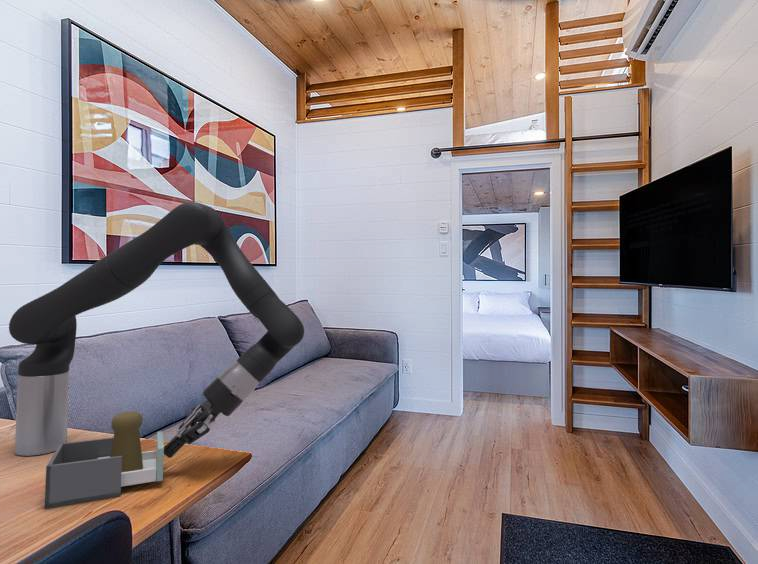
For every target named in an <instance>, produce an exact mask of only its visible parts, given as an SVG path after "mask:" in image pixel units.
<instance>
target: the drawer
mask: <svg viewBox="0 0 758 564" xmlns="http://www.w3.org/2000/svg"><path fill="white" fill-rule="evenodd" d="M164 444H165V443H164V435H163V431H162V430H161V431H157V432H156V449H155V450H149V451H148V450H147V451H141V452H142V461H143V469H142V470H135V471H129V472H122V473H121V487H127V486H135V485H139V484H145V483H152V482H162V481H164V480H163V478H164V476H163V475H164V456H165V455H164V447H165V445H164ZM109 457H110V456H109ZM101 458H108V457H101ZM98 459H100V458H98Z"/></svg>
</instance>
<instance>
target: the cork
mask: <svg viewBox="0 0 758 564" xmlns="http://www.w3.org/2000/svg"><path fill="white" fill-rule="evenodd" d="M143 421H144V420H143V416H142V414H141V413H140V412H138V411H124V412H119V413H117V414H115V415H114V416H113V418H112V420H111V426H110V427H111V429H112V430H113V432H114V433H113V437H114V438H113V443H112V448H111V454H110V457H115V456H122V471H121V473H122V472H129V471H135V470H142V469H143V461H142V452H143V451H142V445H141V435H140V429H141V427H142V425H143Z"/></svg>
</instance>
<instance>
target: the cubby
mask: <svg viewBox="0 0 758 564" xmlns="http://www.w3.org/2000/svg"><path fill="white" fill-rule="evenodd" d="M113 438H114V436H113V437H105V438H95V439H88V440H85V439H84V440H77V441H71V442H69V441H67V442H66V443H60V444H59V446H58V448H57V449H56V451H54V453H53V455H52V457H50V459H49V461H48V463H47V465H46V467H45V468H46V469H45V487H44V490H45V491H44V510H46V509H54V508H59V507H66V506H71V505H78V504H82V503H88V502H95V501H99V500H108V499H112V498H118V497H121V493H122V487H123V486H122V487H121V471H122V456H115V457H109V456H110V454H111V448H112V443H113ZM101 457H108V458H101ZM98 458H100V459H98Z"/></svg>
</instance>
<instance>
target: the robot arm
mask: <svg viewBox="0 0 758 564" xmlns="http://www.w3.org/2000/svg"><path fill="white" fill-rule="evenodd" d="M193 245H198V246H200V247H201V248H203V249H204V250H205V251H206V252H207V253H208V254H209V255H211V257H212V258H213V259H214V260H215V261H216V263H217V264H218V265H219V267H220V268H221V270H222V271H223V273H224V274H223V275H224V276H225V278H226V280H227V282H228V283H229V286H230V287H231V290H232V291H233V292H234V294H235V296H237V298H238V299H239V301H240V302H241V303H242V304H243V306H244V307H245V308H246V309H247V310H248V311H249V312H250V313H251V315H252V316H253V317H254V318H255V319H258V320H259V321H260V323H261V324H262V325H263V327H264V328H265V329H266V332H265V334H264V335H263V336H262V337H260V339H259V340H258V341H257V342H256V343H255V344H253V345H252V346H249V348H247V350H245V351H244V352H243V353H242V354H241V355H240V357H239V358H237V359H236V360H235V361H234V362H233V363H232V364H230V365H229V366H228V367H227V368H226V369H224V370H223V371H222V372H221V373H220V375H218V376H217V377H216V378H215V379H214V380H213V381H212V382H211V383H210V384H209V385H208V386H207V387H206V388H205V389H204V390H203V391H202V395H203V396H204V398H205V399H206V401H204V402H203V403H201V404H198V405H197V406H194V407H193V408H192V409H191V410H190V412H189V414H187V416H186V417H185V419H184V420H183V422H182V423H180V425H179V427H178V428H177V429H178V430H177V432H176V434H175V435H174V437H173V438H171V439H170V441H169V442H167V443H166V444H165V445H164V456H166V457H167V458H168V459H171V458H172V457H173V456H174V455H175V454H176V453H178V451H179V450H180V449H182V447H183V446H185V445H187V444H188V445H191V444H192V443H194V442H196V441H197V440H199V439H200V438H202V437H203V436H205V435H206V434H208V433H209V432H210V431H211V428H210V427H211V426H212V425H213V424H214V423H215V422H216V418H217V417H218V416H219V415H220V414H223V415H224V416H226V417H229V416H230V415H232V414H233V413H234V411H236V410H237V408H238V407H239V406H240V405H241V404H242V403H243V402H244V401H246V399H247V398H248V397H249V396H250V395H251V394H252V393H253V392H254V391H255V389H256V388H257V387H258V386H259V384H260V383H261V382H262V381H264V379H265V378H266V377H267V376H268V375H269V374H270V373H271V372H272V370H274V368H275V366H276V365H277V363H279V362H280V361H281V360H282V359H283V358H284V357H285V356H286V355H287V354H288V353H290V351H291V350H292V349H293V348H294V347H295V346H297V345H298V344H300V342H302V340H303V338H304V336H305V327H304V324H303V322H302V320H301V319H300V317H298V316H297V314H296V313H295V312H294V311H293V310H292V309H291V308H289V307H288V305H287V304H286V303H285V302H284V301H282V300H281V299H280V297H279V296H278V295H277V293H276V292H275V291H274V289H273V288H272V287H271V285H270V284H269V283H268V282H267V281H266V279H265V278H263V276H262V275H261V274H260V272H259V271H258V270H257V269H256V268H255V266H254V265H253V264H252V263H251V261H250V260H249V259H248V258H247V256H246V255H245V253H244V252H243V251H242V249H241V248H240V246H239V245H238V243H237V242H236V240H235V237H233V235H232V233H231V232H230V230H229V228H228V226H227V225H226V223H225V221H224V219H223V218H222V216H221V214H220V213H219V212H218V211H217V210H216V209H215V208H213V207H212V206H209V205H206V204H204V203H200V202H196V201H188V202H187V201H185V202H183V203H181V204H179V205H177V206H176V207H174V208H173V209H171V211H169V212H168V213H167V214H165V216H163V217H162V218H160V219H159V220H158V221H157V222H155V224H153V225H152V226H151V227H150V228H148V229H147V230H145V231H144V232H143V233H141V234H140V235H138V236H136V237H134V238H133V239H130V241H128V242H125V244H123V245H121V246H120V247H118V248H116V249H115V250H113V251H112V252H110V253H108V254H107V255H105V256H103V257H102V258H101V259H99V260H97V261H96V262H95V263H93V264H91V265H90V266H89V267H87V268H86V269H84V270H82V271H81V272H79V273H78V274H76V275H75V276H73V277H72V278H70V279H69V280H68V281H66V282H64V283H63V284H61V285H59V286H58V287H56V288H55V289H52V290H51V291H49V292H48V293H45V294H44V295H41V296H39V297H37V298H35V299H34V300H31V301H30V302H27V303H26V304H24V305H22V306H21V307H19V308H17V309H16V311H15V312H14V313H13V314H12V316H11V318H10V320H9V323H8V332H9V334H10V336H11V338H13V339H14V340H15V341H17V342H19V343H21V344H25V345H35V348H34V350H33V351H32V352H31V354H29V355H28V356H26V358H24V359H22V360H21V361H20V362H19V363H18V368H17V370H18V371H17V393H16V414H15V415H16V416H15V432H14V433H15V434H14V437H15V438H14V454H15V455H17V456H21V457H23V456H26V457H27V456H28V457H29V456H38V455H45V454H49V453H53V452H55V451H56V449H57V448H58V446H59V444H60V443H67V442H68V425H69V423H68V420H69V380H70V379H69V378H70V364H71V362H72V360H73V358H74V355H75V347H76V340H77V339H76V337H77V325H78V324H77V322H78V321H77V317H76V316H79V315H80V314H81V313H84V312H88V311H91V310H93V309H96V308H99V307H101V306H105V305H106V304H108V303H109V304H110V303H112V302H115V301H116V300H118V299H121V298H122V297H124V296H126V295H128V294H129V293H131V292H132V291H134V290H135V289H137V288H139V287H140V286H141V285H143V284H145V282H146V281H147V280H149V279H150V278H151V276H152V275H154V273H155V272H156V270H157V269H158V267H159V266H160V265H161V264H162V263H163V262H165V261H166V260H167V259H169V257H172V256H174V255H175V254H176V253H178V252H180V251H182V250H184V249H187V248H188V247H191V246H193Z"/></svg>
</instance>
